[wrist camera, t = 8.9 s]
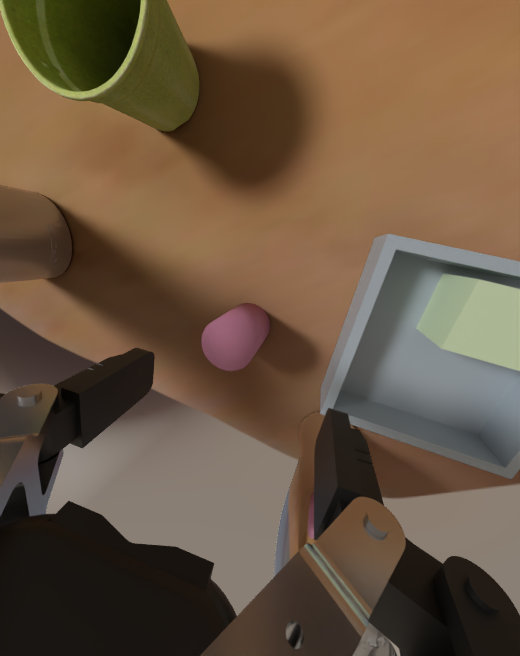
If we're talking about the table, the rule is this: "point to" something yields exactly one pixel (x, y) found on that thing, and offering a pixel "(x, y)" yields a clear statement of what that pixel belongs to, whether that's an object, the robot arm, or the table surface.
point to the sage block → (475, 320)
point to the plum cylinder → (235, 336)
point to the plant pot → (108, 55)
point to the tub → (423, 361)
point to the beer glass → (298, 526)
